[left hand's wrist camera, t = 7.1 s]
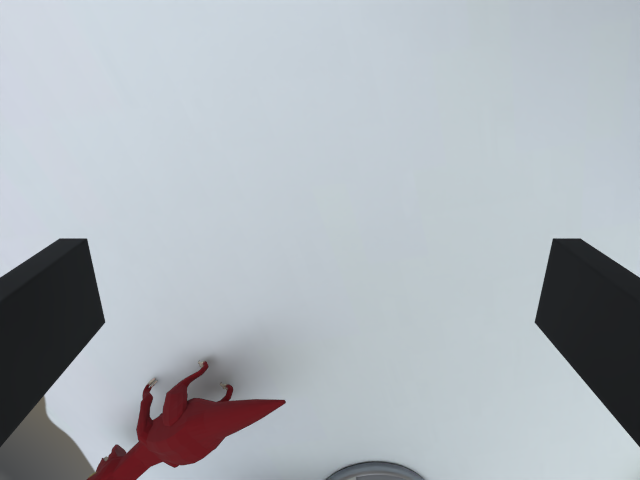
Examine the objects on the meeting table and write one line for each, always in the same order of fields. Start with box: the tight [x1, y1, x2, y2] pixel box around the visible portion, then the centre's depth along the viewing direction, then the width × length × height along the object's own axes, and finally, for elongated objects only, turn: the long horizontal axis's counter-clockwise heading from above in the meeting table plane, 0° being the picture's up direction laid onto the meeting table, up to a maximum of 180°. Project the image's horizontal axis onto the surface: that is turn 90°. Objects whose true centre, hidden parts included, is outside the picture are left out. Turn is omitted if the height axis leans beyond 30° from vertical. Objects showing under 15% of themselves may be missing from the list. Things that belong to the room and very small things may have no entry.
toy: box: [87, 360, 286, 480], centre depth 40 cm, size 7×25×15 cm
